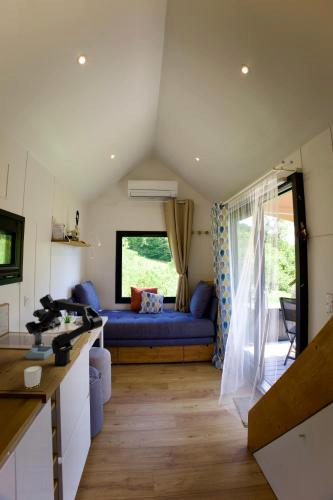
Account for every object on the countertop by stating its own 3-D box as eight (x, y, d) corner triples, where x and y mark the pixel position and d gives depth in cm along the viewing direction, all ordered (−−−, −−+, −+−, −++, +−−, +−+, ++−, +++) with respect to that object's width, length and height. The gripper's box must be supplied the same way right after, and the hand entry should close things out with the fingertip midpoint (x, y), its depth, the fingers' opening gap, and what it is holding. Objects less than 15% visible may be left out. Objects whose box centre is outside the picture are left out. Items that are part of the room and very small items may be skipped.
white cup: (44, 381, 112) (44, 365, 112) (36, 389, 105) (37, 372, 105) (28, 381, 111) (29, 365, 112) (20, 389, 105) (20, 372, 105)
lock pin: (43, 347, 138) (43, 324, 139) (31, 348, 136) (31, 325, 137) (44, 343, 144) (45, 321, 144) (32, 345, 142) (33, 322, 142)
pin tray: (55, 352, 147) (55, 346, 147) (44, 359, 136) (44, 353, 136) (37, 351, 148) (38, 345, 148) (25, 358, 137) (25, 352, 137)
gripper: (58, 302, 148) (45, 319, 152) (28, 307, 131) (14, 326, 135) (67, 317, 144) (53, 334, 148) (37, 324, 127) (23, 343, 132)
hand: (36, 333), depth 141 cm, fingers closed on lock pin, 4 cm apart
